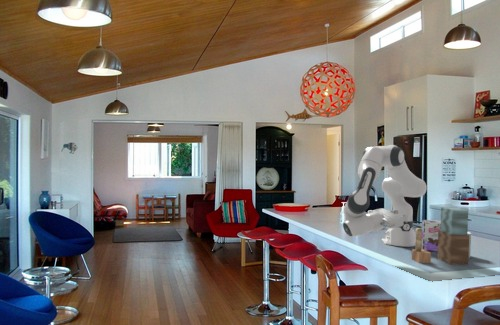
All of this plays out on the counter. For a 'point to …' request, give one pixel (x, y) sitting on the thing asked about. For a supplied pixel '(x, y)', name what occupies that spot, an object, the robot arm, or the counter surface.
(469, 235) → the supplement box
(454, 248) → the tower
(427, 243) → the candy box
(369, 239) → the counter surface
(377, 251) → the counter surface
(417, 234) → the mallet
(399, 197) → the robot arm
